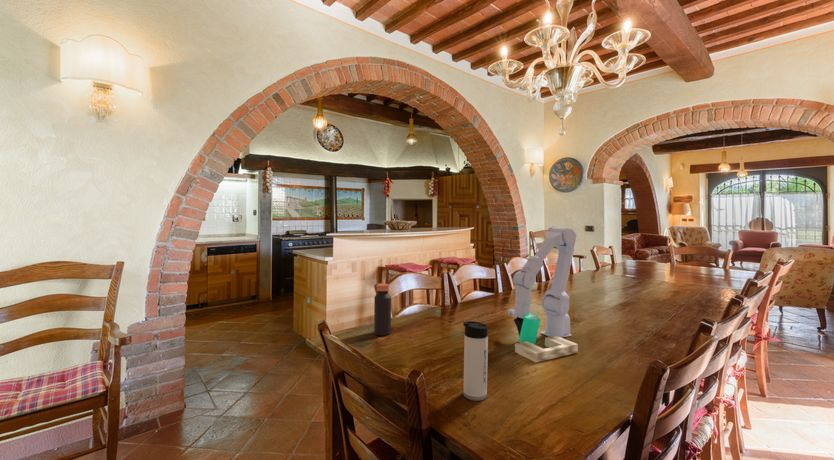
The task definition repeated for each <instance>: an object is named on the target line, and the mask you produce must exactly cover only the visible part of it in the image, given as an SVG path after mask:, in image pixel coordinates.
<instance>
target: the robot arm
mask: <svg viewBox="0 0 834 460" xmlns="http://www.w3.org/2000/svg"><path fill="white" fill-rule="evenodd" d="M576 240H577V234H576V231H575V230H574V229H573V228H572V227H558V226H550V227H549V228H548V229H547V230H546V232H545V233H544V240H543V241H542V243H541V244H540V246H539V248H538V250H537V252H536V253H535V255H531V256H530V257H528V258H527V260H526V262H525V263H524V265H523V267H521V269H520V270H519V271H517V272H515V273H514V274H513V276H512V278H511V279H512V283H513V285H514V290H515V298H514V299H515V305H514V307H515V308H514V309H513V308H509V309H507V310H508V311H507V314H508V315H509V316H510V315H511V316H512V317H514V319H513V322H514V324H515V326H516V329H517V332H518V337H520V333H521V328H522V323H523V319H524V315H525V314H526V315H529V314H531V313H532V312H531V304H532V287H533V286H534V285H535V283H536V278H537V275H538V273H539V272H540V271H541V269H542V268H543V266H544V262H543V261H544V260H545V258H546V257H547V256H548V255H549V253H550V252H551V251H552V250H553V249H554V248H556V249H557V250H558V255H557V259H556V264H555V269H554V274H553V278H552V281H551V287H550V288H549V289H547V290H546V291H545V292H544V293H545V294H544V296H543V298H541V299H542V300H541V307H542V309H544V313H545V327H544V330H542V331H540V332H539V333H540V334H542V335H545V336H547V337H551V336H558V337H561V338H563V339H564V338H567V337H572V336H573V335H572V334H571V318H570V316H569V314H568V313H569V311H570V300H571V297H570V296H569V295H568V293H567V292H566V289H567V286H568V285H567V284H568V280H569V274H570V271H571V266H572V262H573V261H572V259H573V256H574V251H575V244H576ZM533 317H534V316H533ZM527 318H530V319H532V320H538V318H536V317H534V318H532V317H527Z"/></svg>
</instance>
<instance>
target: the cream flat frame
mask: <svg viewBox="0 0 834 460" xmlns="http://www.w3.org/2000/svg"><path fill="white" fill-rule="evenodd" d="M544 346H545V347H546V348H542V347H540V346H538V345H536V344H535V345H534V344H532V343H530V342H527V341H526V342H521V343H520V342H517V343H514V353H516V354H519V355H520V356H522V357H525V358H526V359H528V360H530V361H532V362H534V363H539V362H543V361H548V360H552V359H555V358H556V359H557V358H560V357H565V356H568V355H574V354H578V353H579V350H578V347H579V344H578V343H576V342H573V341H570V340H568V339H565V338H564V337H563V338H561V337H558V336H551V337H549V336H547V337H544Z"/></svg>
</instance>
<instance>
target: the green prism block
mask: <svg viewBox="0 0 834 460" xmlns="http://www.w3.org/2000/svg"><path fill="white" fill-rule="evenodd" d="M533 316H534V317H536V318H538V320H532V319H530V318H527V317H532V318H534V317H533ZM541 321H542V319H541V318H540V317H539V316H538V315H535V314H534V312H533V313H532V314H531V313H530V314H529V315H526V314H525V315H524V319H523V323H522V328H521V333H520V337H519V336H518V337H519V339H518V341H519V342H518V343H521V342H526V341H527V342H530V343H532V344H534V345H536V343H537V337H538V334H539V329H540V324H541Z"/></svg>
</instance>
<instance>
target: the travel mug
mask: <svg viewBox="0 0 834 460" xmlns="http://www.w3.org/2000/svg"><path fill="white" fill-rule="evenodd" d="M462 325H463V327H464V334H463V335H464V336H463V337H464V339H463V340H464V341H463V342H464V343H463V344H464V345H463V347H464V349H463V396H464V397H465V398H466V399H468V400H470V401H475V402H477V401H478V402H479V401H483V400H485V399H487V396H488V393H487V392H488V355H489V354H488V353H489V351H488V350H489V347H488V346H489V345H488V344H489V333H488V332H489V327H488V326H487V325H486V324H484V323H483V322H478V321H472V320H468V321H463V324H462Z"/></svg>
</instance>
